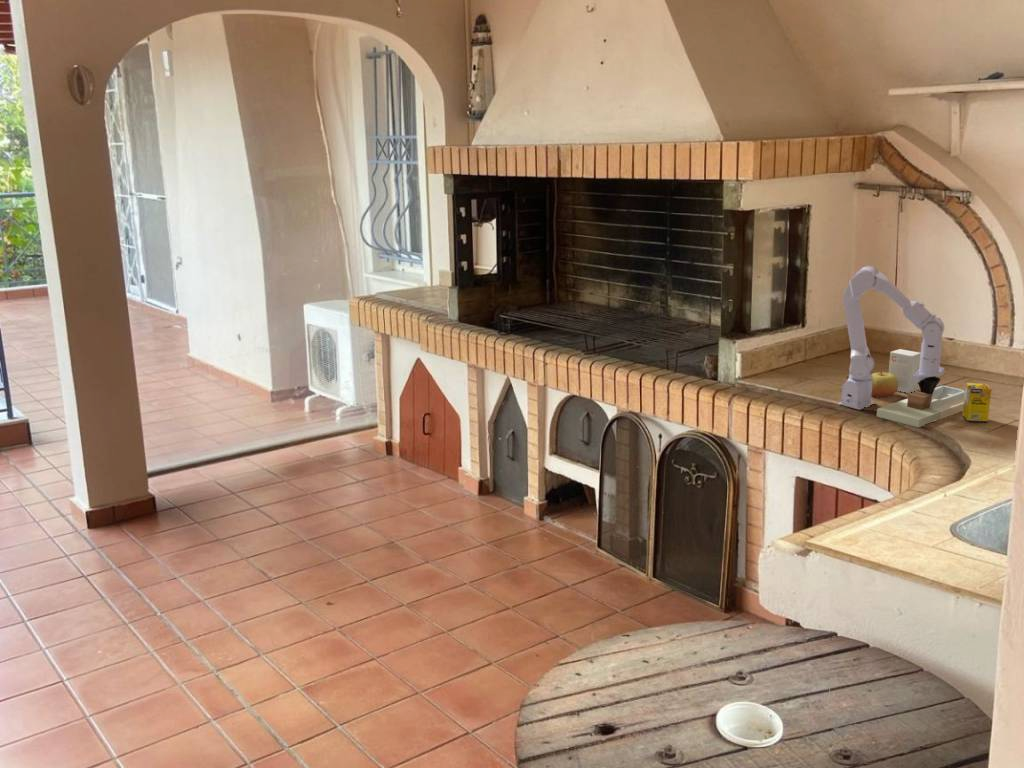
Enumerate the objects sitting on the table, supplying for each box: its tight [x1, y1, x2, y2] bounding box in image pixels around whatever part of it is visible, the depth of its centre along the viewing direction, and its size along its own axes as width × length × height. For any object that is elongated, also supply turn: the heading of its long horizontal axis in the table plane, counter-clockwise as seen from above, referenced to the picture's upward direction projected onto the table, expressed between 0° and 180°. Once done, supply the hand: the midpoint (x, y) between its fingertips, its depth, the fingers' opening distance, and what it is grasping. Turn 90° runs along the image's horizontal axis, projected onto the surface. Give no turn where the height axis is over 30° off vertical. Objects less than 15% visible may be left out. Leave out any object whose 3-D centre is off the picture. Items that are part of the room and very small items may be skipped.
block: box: [907, 390, 932, 410], centre depth 299 cm, size 5×5×4 cm
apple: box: [871, 371, 898, 398], centre depth 319 cm, size 10×10×8 cm
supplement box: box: [961, 382, 992, 424], centre depth 292 cm, size 6×6×11 cm
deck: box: [876, 384, 965, 428], centre depth 302 cm, size 32×14×4 cm, turn 127°
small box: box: [888, 348, 921, 394], centre depth 324 cm, size 8×6×13 cm
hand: (926, 399), depth 301 cm, fingers closed
